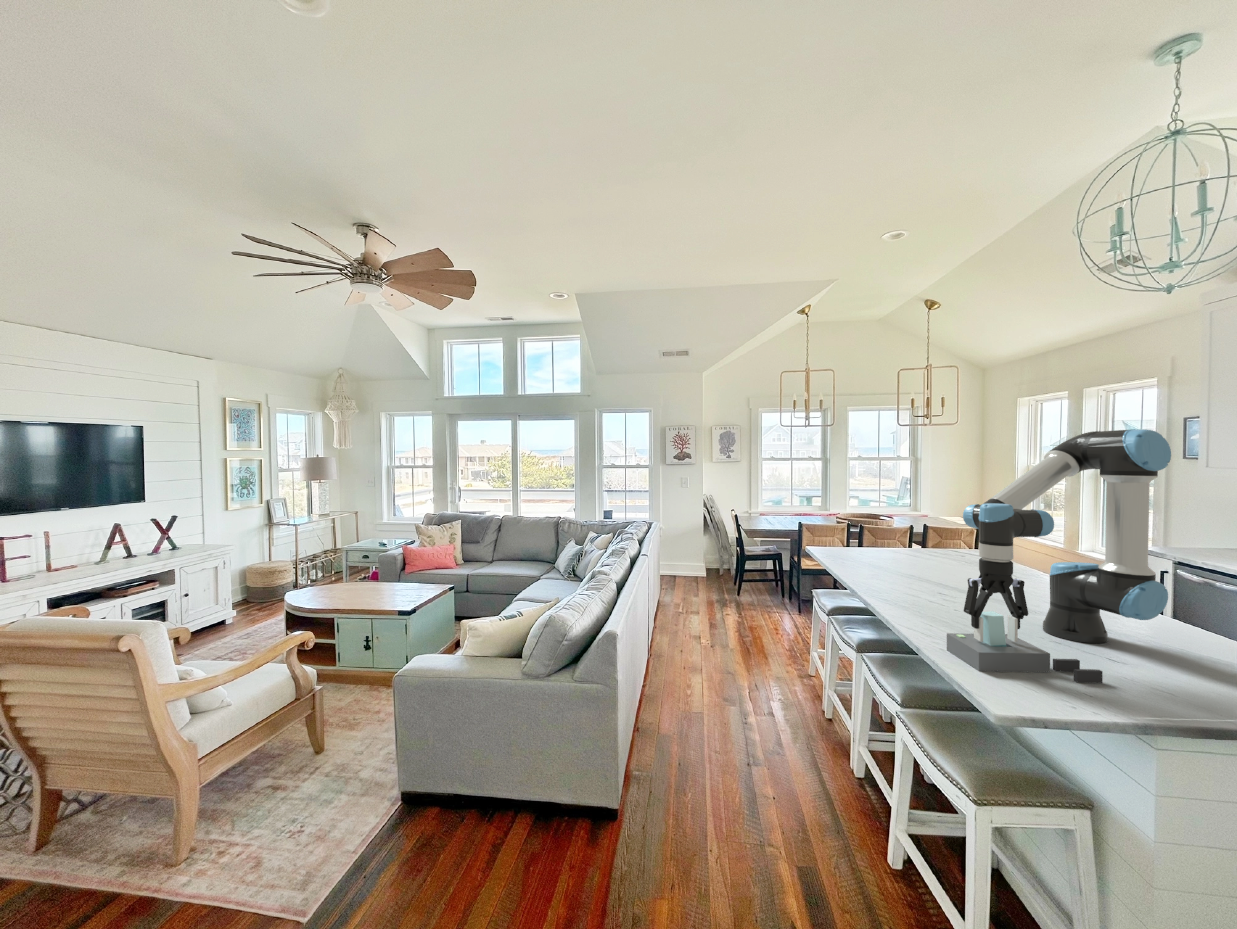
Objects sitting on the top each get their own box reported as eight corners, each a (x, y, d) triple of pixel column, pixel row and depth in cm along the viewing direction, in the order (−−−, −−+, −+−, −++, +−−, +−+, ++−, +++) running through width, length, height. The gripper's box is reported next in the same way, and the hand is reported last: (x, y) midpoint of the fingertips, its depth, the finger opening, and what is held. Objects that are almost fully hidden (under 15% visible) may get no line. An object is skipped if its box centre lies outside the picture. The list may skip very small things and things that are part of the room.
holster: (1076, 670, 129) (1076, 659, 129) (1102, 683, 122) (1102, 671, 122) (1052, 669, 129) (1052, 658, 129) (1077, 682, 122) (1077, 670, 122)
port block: (1010, 651, 142) (1010, 633, 142) (1050, 672, 128) (1050, 652, 128) (946, 650, 143) (946, 632, 143) (978, 671, 129) (978, 651, 129)
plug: (997, 653, 137) (993, 611, 137) (1007, 659, 133) (1003, 615, 133) (982, 654, 138) (978, 612, 137) (991, 660, 133) (987, 616, 133)
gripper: (1025, 556, 138) (1024, 635, 138) (948, 556, 139) (947, 634, 140) (1046, 562, 131) (1046, 645, 131) (964, 561, 132) (964, 644, 132)
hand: (995, 639), depth 135 cm, fingers open, 8 cm apart
